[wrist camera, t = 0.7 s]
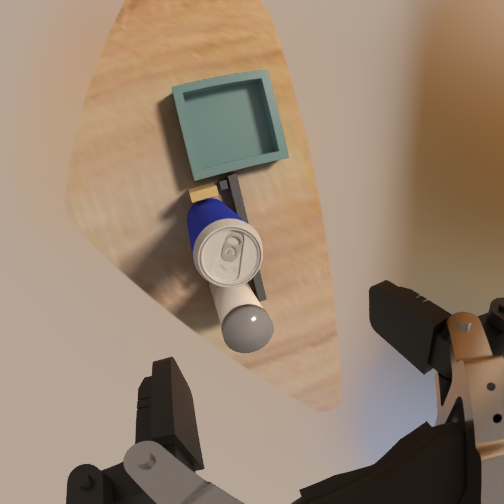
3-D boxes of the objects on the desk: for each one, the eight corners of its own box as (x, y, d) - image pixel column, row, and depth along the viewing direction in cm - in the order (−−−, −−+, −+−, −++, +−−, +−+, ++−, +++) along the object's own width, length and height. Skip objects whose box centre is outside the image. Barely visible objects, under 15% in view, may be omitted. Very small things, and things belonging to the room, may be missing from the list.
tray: (172, 92, 28) (171, 87, 26) (261, 75, 30) (267, 69, 27) (193, 180, 32) (194, 180, 29) (281, 158, 34) (289, 157, 31)
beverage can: (223, 243, 35) (254, 296, 21) (182, 234, 33) (186, 284, 19) (234, 203, 34) (275, 230, 20) (193, 193, 32) (203, 213, 18)
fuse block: (187, 186, 32) (188, 189, 27) (233, 173, 33) (243, 174, 28) (223, 309, 38) (230, 328, 33) (263, 296, 38) (275, 313, 34)
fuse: (203, 270, 35) (217, 320, 24) (239, 259, 36) (268, 303, 25) (214, 302, 37) (231, 358, 26) (247, 291, 38) (277, 343, 26)
